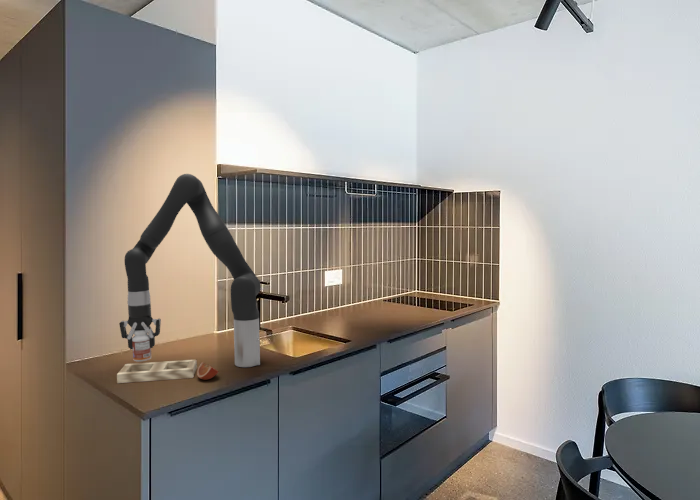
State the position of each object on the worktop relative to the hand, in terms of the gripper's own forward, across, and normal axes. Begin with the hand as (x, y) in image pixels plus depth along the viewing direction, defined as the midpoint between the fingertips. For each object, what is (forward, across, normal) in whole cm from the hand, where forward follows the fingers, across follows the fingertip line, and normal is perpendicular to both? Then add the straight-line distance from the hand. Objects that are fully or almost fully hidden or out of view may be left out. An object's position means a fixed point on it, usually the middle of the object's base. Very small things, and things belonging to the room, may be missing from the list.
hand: (141, 348), depth 171 cm
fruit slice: (+8, -24, +18) cm, 31 cm away
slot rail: (+7, -8, +11) cm, 15 cm away
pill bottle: (+4, 0, 0) cm, 4 cm away
